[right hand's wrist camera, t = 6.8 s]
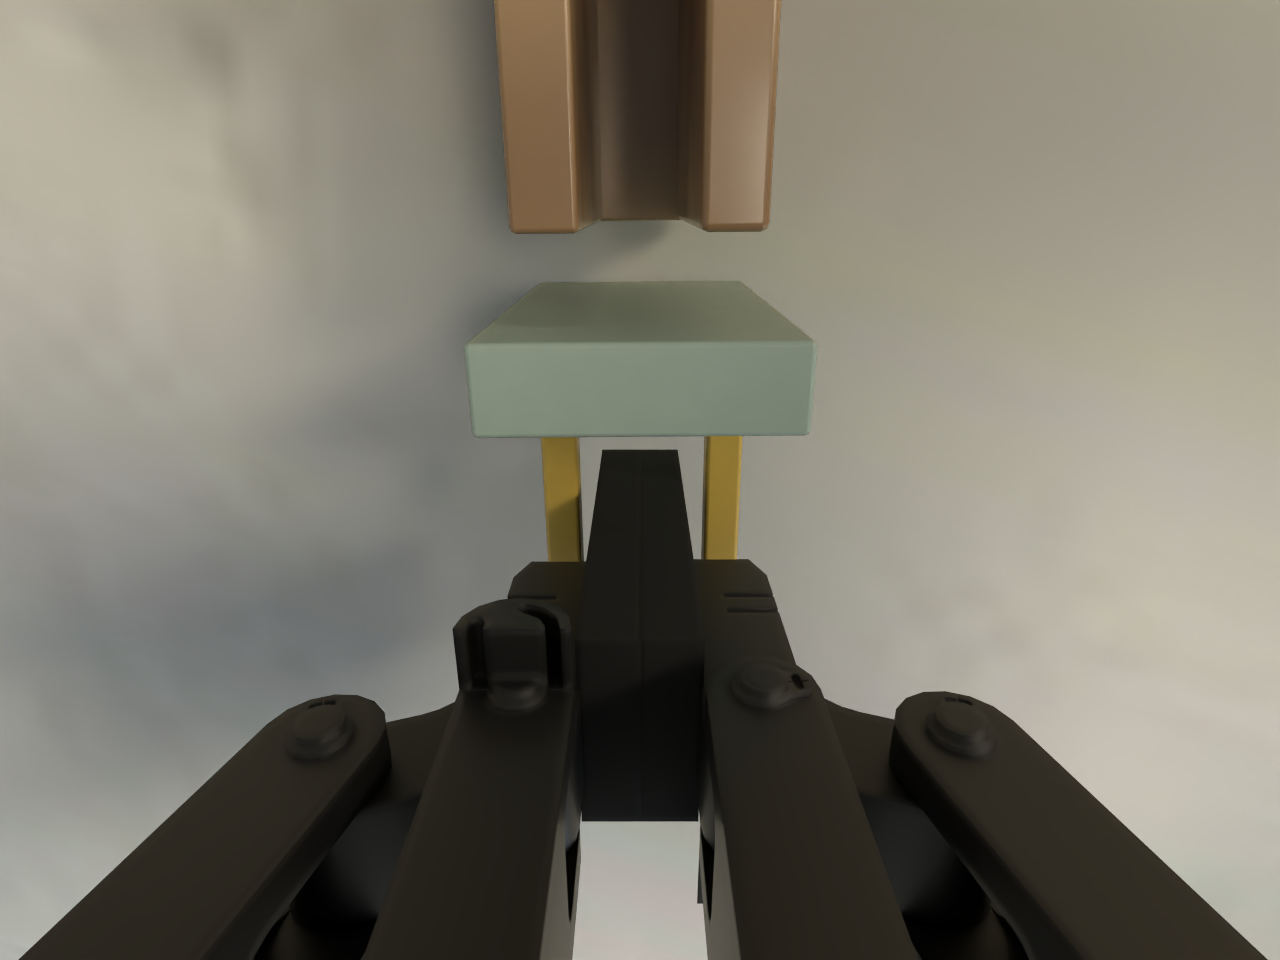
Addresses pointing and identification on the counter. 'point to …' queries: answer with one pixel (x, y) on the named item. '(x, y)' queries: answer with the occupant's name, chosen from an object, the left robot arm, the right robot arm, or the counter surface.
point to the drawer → (639, 190)
